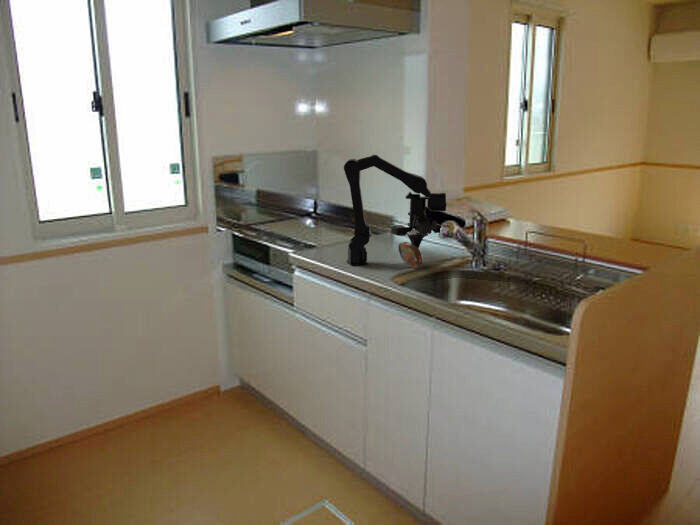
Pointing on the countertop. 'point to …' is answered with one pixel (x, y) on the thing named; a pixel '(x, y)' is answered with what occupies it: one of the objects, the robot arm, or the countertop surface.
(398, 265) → the drying mat
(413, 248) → the tin
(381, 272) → the countertop surface
